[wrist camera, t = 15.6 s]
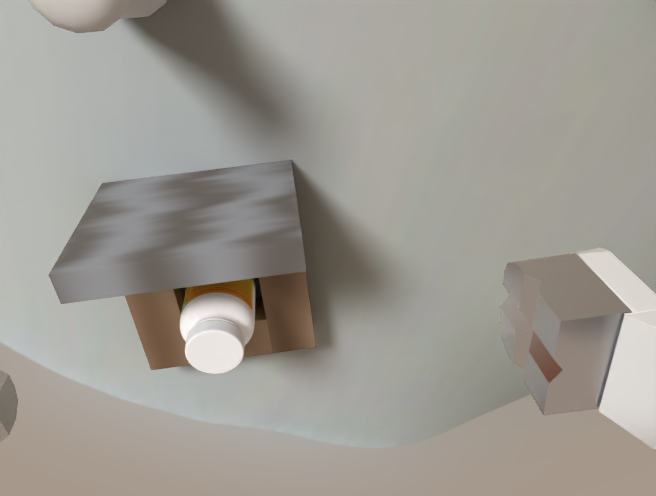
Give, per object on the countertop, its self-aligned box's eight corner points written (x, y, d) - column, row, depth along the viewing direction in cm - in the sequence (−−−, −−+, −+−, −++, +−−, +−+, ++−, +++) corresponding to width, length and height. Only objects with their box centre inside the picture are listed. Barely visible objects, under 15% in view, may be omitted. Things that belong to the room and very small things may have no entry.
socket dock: (291, 160, 40) (302, 241, 30) (312, 324, 49) (327, 431, 39) (102, 183, 40) (48, 275, 29) (156, 346, 48) (130, 461, 38)
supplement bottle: (182, 250, 43) (163, 329, 35) (249, 240, 43) (246, 316, 35) (198, 303, 46) (184, 387, 38) (260, 293, 46) (260, 375, 38)
